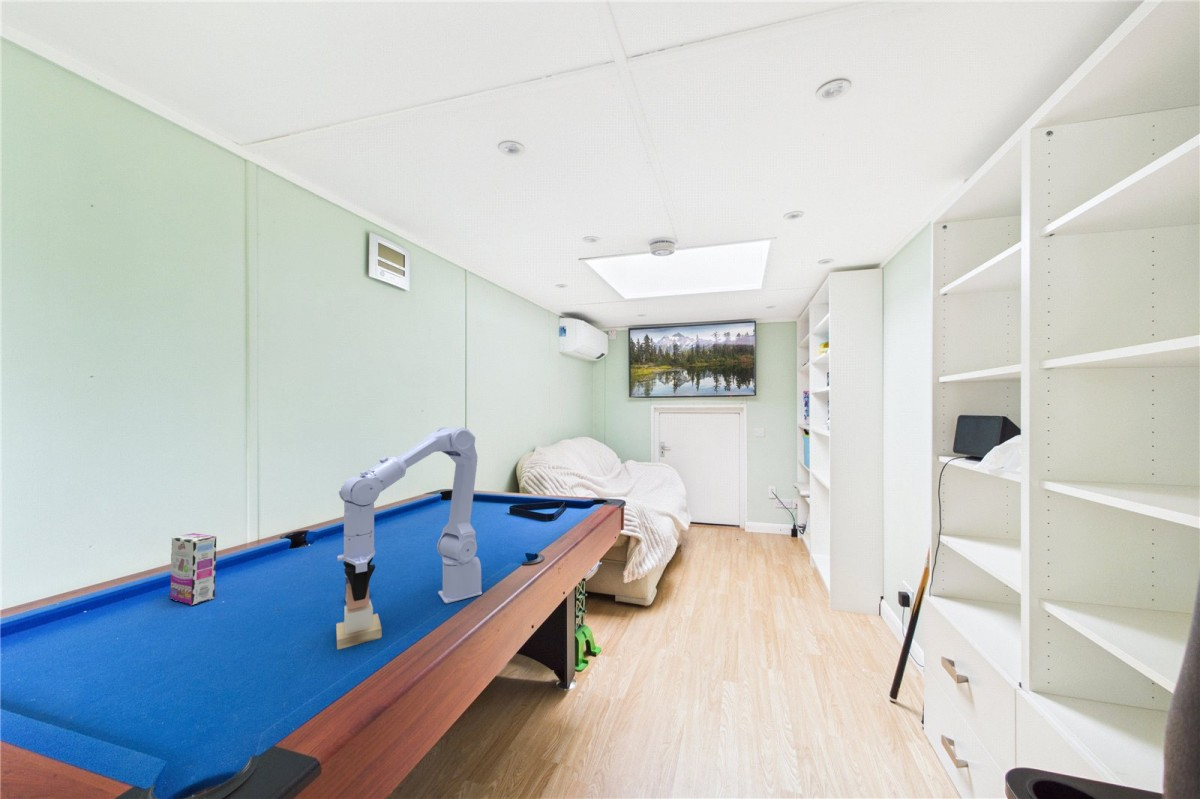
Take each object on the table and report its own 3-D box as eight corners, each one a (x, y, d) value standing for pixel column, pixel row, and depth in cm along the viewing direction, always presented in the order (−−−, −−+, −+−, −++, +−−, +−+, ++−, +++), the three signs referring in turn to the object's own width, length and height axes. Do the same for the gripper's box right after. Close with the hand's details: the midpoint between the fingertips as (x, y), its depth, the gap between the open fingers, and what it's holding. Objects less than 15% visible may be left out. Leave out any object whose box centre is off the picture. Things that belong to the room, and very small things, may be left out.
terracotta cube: (367, 598, 92) (367, 579, 92) (369, 604, 89) (369, 585, 89) (346, 602, 90) (346, 584, 90) (347, 610, 87) (347, 590, 87)
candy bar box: (216, 598, 109) (217, 535, 110) (192, 606, 104) (193, 541, 105) (193, 592, 113) (194, 532, 114) (168, 600, 109) (170, 537, 109)
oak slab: (377, 622, 95) (377, 613, 95) (381, 637, 88) (381, 628, 88) (336, 633, 90) (336, 623, 90) (337, 649, 84) (337, 639, 84)
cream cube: (370, 617, 93) (370, 599, 93) (372, 627, 89) (372, 608, 89) (344, 624, 90) (344, 605, 90) (345, 634, 86) (345, 614, 86)
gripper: (336, 528, 94) (336, 588, 93) (338, 544, 82) (338, 614, 81) (371, 523, 98) (371, 581, 97) (378, 538, 86) (378, 604, 85)
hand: (358, 595), depth 90 cm, fingers closed on terracotta cube, 4 cm apart
